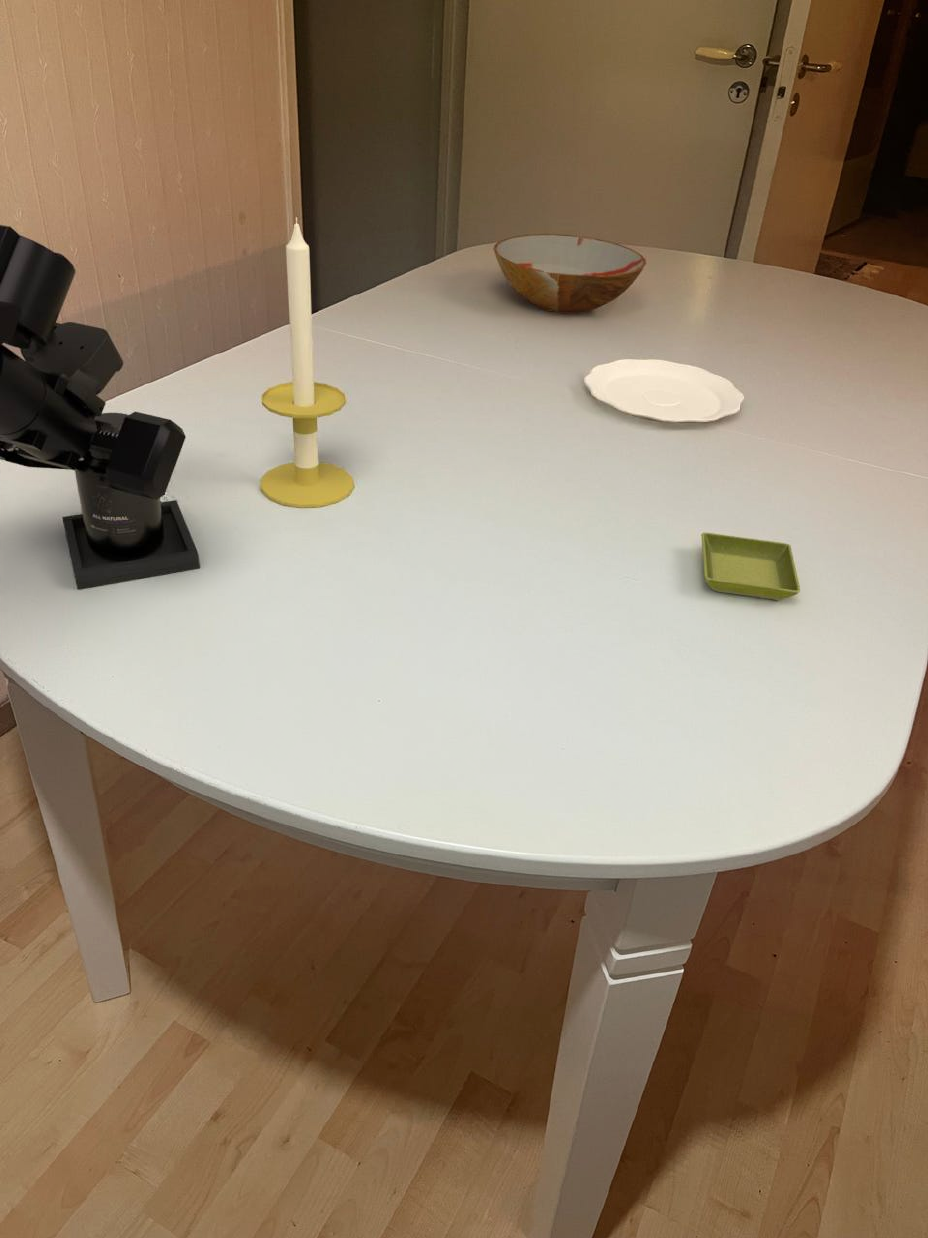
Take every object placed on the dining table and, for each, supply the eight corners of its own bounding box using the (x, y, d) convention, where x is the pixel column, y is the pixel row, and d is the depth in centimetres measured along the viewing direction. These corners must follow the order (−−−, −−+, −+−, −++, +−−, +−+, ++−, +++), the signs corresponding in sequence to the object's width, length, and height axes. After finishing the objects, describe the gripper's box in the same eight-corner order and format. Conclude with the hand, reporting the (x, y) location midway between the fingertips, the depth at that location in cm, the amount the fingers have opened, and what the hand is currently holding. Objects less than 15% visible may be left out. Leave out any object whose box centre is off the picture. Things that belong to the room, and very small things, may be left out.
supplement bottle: (102, 570, 82) (78, 445, 75) (79, 535, 86) (54, 415, 80) (177, 550, 86) (161, 429, 79) (151, 518, 90) (134, 401, 83)
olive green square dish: (795, 610, 85) (801, 592, 84) (699, 597, 86) (704, 578, 85) (784, 561, 92) (790, 543, 91) (696, 549, 93) (701, 531, 92)
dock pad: (77, 589, 81) (74, 574, 80) (65, 530, 88) (61, 516, 88) (200, 568, 85) (198, 553, 84) (178, 513, 92) (176, 499, 91)
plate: (551, 388, 125) (553, 376, 124) (655, 360, 136) (657, 349, 135) (668, 446, 112) (671, 433, 111) (771, 410, 124) (775, 398, 123)
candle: (316, 455, 105) (308, 199, 89) (373, 488, 99) (375, 222, 83) (241, 480, 99) (217, 211, 83) (297, 517, 93) (283, 237, 77)
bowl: (475, 315, 148) (479, 263, 143) (504, 273, 168) (508, 227, 163) (632, 336, 144) (641, 284, 140) (642, 291, 164) (651, 244, 160)
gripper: (155, 321, 67) (247, 412, 82) (-49, 280, 72) (73, 372, 87) (102, 463, 65) (205, 529, 80) (-104, 411, 70) (30, 482, 85)
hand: (127, 473), depth 83 cm, fingers closed on supplement bottle, 7 cm apart
